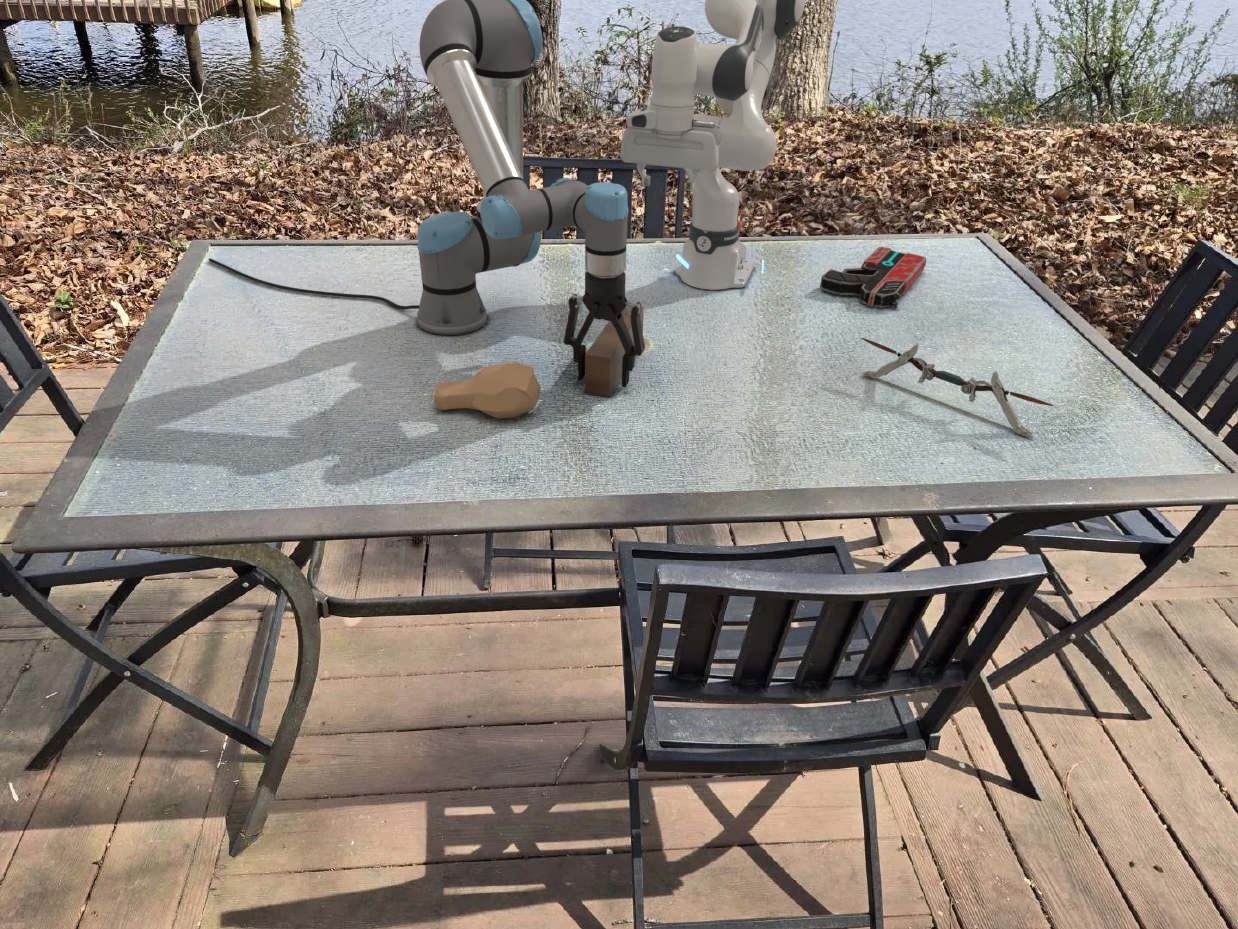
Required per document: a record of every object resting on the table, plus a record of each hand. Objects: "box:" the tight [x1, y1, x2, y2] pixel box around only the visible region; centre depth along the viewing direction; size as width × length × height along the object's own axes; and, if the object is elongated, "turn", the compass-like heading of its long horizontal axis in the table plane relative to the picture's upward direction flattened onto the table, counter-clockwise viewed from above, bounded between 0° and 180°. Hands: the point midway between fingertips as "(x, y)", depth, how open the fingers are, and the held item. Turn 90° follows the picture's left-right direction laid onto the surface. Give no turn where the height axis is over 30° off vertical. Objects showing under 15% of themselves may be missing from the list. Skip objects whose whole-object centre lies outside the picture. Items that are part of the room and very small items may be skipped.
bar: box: [584, 305, 645, 398], centre depth 179 cm, size 25×5×8 cm, turn 164°
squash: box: [433, 360, 542, 419], centre depth 163 cm, size 11×20×9 cm, turn 90°
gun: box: [819, 246, 927, 309], centre depth 221 cm, size 4×31×19 cm
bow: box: [861, 337, 1055, 437], centre depth 168 cm, size 39×2×10 cm, turn 47°
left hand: (603, 380), depth 173 cm, fingers open, 8 cm apart
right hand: (667, 187), depth 183 cm, fingers open, 8 cm apart
